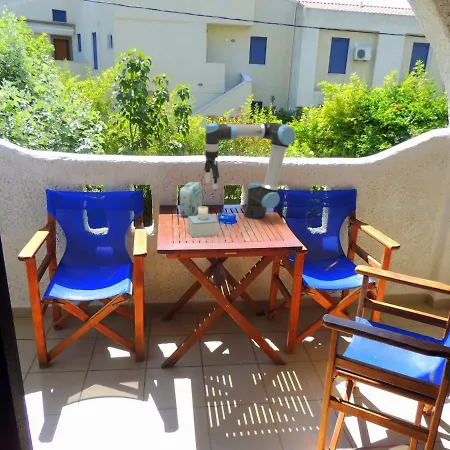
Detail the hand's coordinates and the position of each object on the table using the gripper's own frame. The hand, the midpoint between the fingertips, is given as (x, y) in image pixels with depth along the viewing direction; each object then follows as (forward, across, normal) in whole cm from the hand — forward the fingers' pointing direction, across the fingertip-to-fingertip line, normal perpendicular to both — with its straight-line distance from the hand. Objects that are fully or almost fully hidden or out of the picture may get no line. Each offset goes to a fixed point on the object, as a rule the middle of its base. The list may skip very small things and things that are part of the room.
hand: (211, 185), depth 254 cm
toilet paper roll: (+19, +5, -7) cm, 21 cm away
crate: (+28, +5, -7) cm, 29 cm away
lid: (+20, +5, -7) cm, 22 cm away
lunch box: (+28, -33, -3) cm, 44 cm away
